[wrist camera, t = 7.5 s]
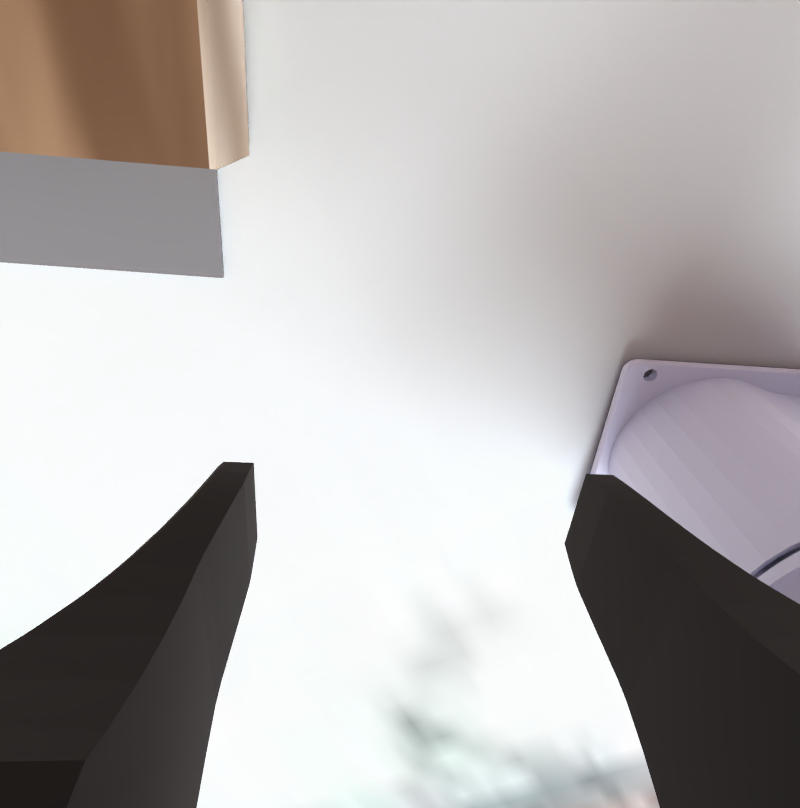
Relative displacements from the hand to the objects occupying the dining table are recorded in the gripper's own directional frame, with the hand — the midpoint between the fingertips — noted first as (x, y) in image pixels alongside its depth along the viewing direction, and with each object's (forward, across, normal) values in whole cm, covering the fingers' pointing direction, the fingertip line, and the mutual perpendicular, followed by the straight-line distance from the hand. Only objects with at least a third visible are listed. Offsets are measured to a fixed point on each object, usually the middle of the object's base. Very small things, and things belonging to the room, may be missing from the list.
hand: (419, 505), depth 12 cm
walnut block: (+8, +5, -8) cm, 12 cm away
